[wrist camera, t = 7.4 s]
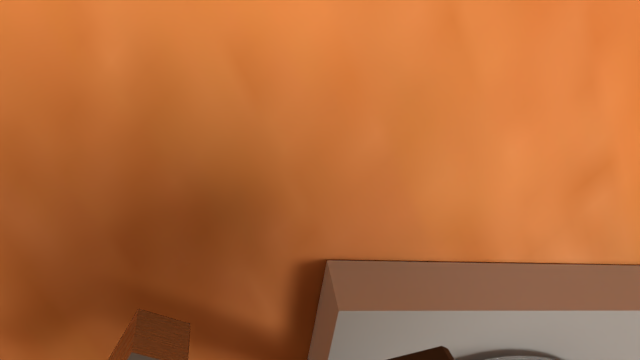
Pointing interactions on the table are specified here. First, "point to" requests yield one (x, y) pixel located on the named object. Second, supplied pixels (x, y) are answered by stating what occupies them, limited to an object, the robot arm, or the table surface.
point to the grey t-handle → (177, 340)
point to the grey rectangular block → (477, 310)
